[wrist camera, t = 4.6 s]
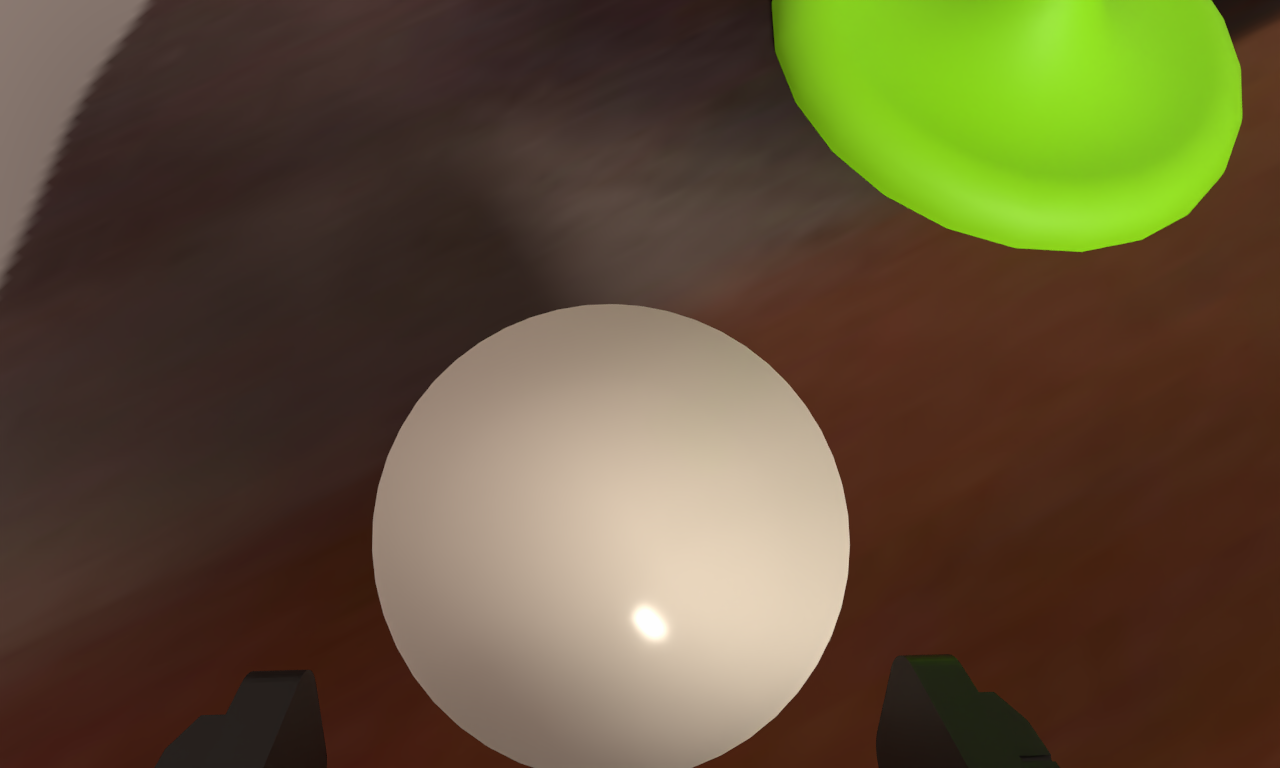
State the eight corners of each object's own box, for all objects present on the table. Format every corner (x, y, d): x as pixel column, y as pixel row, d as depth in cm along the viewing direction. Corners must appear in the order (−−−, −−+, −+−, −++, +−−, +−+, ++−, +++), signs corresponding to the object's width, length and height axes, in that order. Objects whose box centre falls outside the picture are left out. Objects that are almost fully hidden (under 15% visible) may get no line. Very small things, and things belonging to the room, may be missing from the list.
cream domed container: (702, 487, 20) (825, 304, 11) (716, 734, 18) (885, 776, 9) (472, 488, 19) (391, 296, 10) (459, 743, 17) (340, 797, 8)
